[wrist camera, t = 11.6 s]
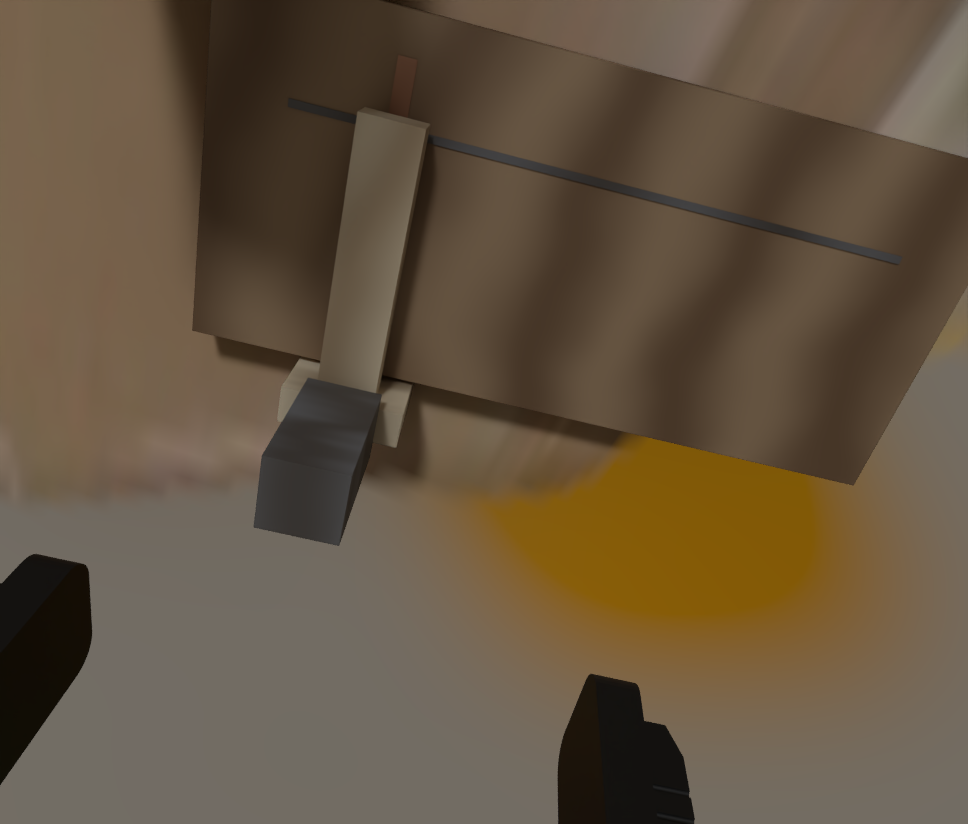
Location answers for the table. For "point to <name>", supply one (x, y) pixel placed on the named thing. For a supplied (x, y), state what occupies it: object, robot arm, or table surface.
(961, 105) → the table surface
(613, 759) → the robot arm
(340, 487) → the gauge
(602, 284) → the board
